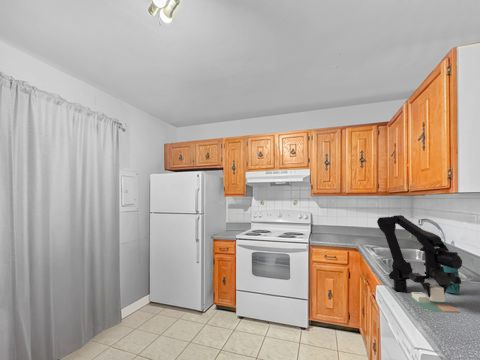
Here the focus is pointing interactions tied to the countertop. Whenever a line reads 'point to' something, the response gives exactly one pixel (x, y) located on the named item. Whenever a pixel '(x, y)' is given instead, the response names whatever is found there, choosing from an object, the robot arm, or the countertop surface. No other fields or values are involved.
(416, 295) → the spiral notebook
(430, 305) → the mat
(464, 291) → the countertop surface
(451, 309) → the coaster
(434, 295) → the stub
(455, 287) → the beverage bottle
